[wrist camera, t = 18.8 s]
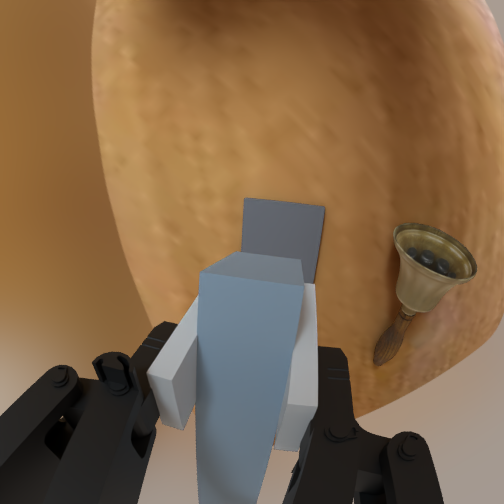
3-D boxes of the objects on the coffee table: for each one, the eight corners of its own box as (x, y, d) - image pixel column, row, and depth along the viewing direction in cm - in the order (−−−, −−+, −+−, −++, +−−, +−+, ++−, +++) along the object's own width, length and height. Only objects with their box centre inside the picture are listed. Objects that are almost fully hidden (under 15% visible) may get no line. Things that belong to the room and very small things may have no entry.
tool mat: (245, 197, 24) (244, 198, 24) (324, 206, 23) (324, 208, 23) (237, 351, 31) (236, 355, 30) (296, 360, 30) (295, 363, 29)
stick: (236, 251, 13) (200, 271, 8) (300, 259, 12) (304, 286, 7) (217, 491, 16) (201, 535, 11) (253, 498, 15) (242, 543, 10)
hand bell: (478, 294, 14) (392, 403, 23) (475, 246, 19) (413, 352, 28) (382, 247, 18) (330, 369, 27) (403, 212, 23) (360, 325, 32)
